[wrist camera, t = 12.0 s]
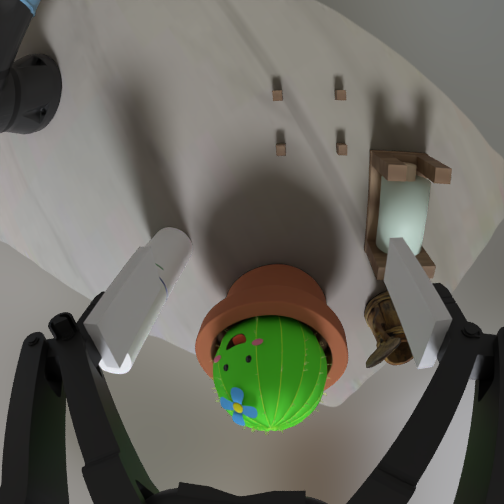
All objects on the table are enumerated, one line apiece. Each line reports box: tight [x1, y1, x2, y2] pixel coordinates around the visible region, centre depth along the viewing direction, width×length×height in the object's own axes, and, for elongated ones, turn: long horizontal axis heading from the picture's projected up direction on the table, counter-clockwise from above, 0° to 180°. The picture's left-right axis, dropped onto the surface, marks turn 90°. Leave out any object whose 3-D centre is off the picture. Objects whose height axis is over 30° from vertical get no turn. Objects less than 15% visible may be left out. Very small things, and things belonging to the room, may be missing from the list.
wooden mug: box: [364, 291, 414, 368], centre depth 45 cm, size 9×14×18 cm, turn 51°
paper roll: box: [376, 162, 431, 255], centre depth 40 cm, size 14×7×7 cm, turn 4°
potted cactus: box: [195, 264, 348, 433], centre depth 44 cm, size 22×22×25 cm
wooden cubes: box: [272, 90, 347, 156], centre depth 39 cm, size 9×10×2 cm
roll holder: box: [364, 150, 452, 280], centre depth 40 cm, size 16×9×9 cm, turn 4°
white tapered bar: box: [99, 227, 193, 374], centre depth 41 cm, size 7×7×25 cm
